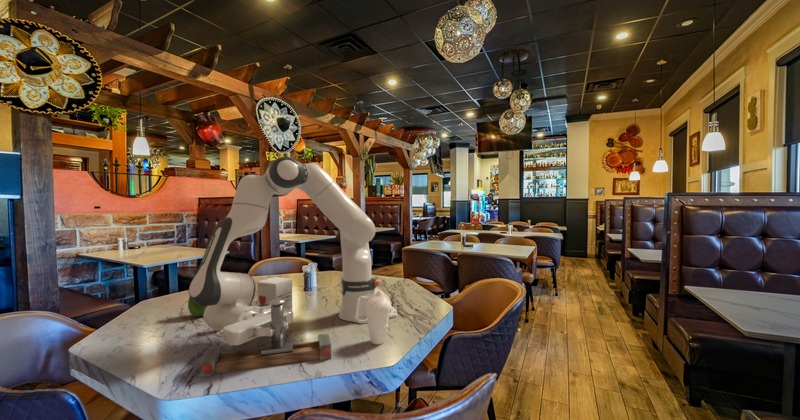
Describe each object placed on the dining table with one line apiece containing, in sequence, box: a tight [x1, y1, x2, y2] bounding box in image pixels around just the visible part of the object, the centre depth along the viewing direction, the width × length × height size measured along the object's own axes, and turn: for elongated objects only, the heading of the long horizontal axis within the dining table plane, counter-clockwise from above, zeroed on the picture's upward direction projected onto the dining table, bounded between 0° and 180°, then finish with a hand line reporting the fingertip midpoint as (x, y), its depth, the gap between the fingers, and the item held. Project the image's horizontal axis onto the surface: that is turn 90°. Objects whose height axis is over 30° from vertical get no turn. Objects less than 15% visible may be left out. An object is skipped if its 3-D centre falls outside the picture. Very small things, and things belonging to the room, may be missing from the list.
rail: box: [199, 333, 332, 378], centre depth 90 cm, size 32×8×4 cm, turn 107°
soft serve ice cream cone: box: [364, 290, 392, 345], centre depth 102 cm, size 8×8×16 cm
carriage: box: [261, 299, 294, 356], centre depth 91 cm, size 8×4×15 cm, turn 107°
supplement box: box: [256, 276, 293, 311], centre depth 122 cm, size 9×9×15 cm
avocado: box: [187, 296, 207, 317], centre depth 127 cm, size 8×8×12 cm
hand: (279, 329), depth 90 cm, fingers closed on carriage, 3 cm apart
